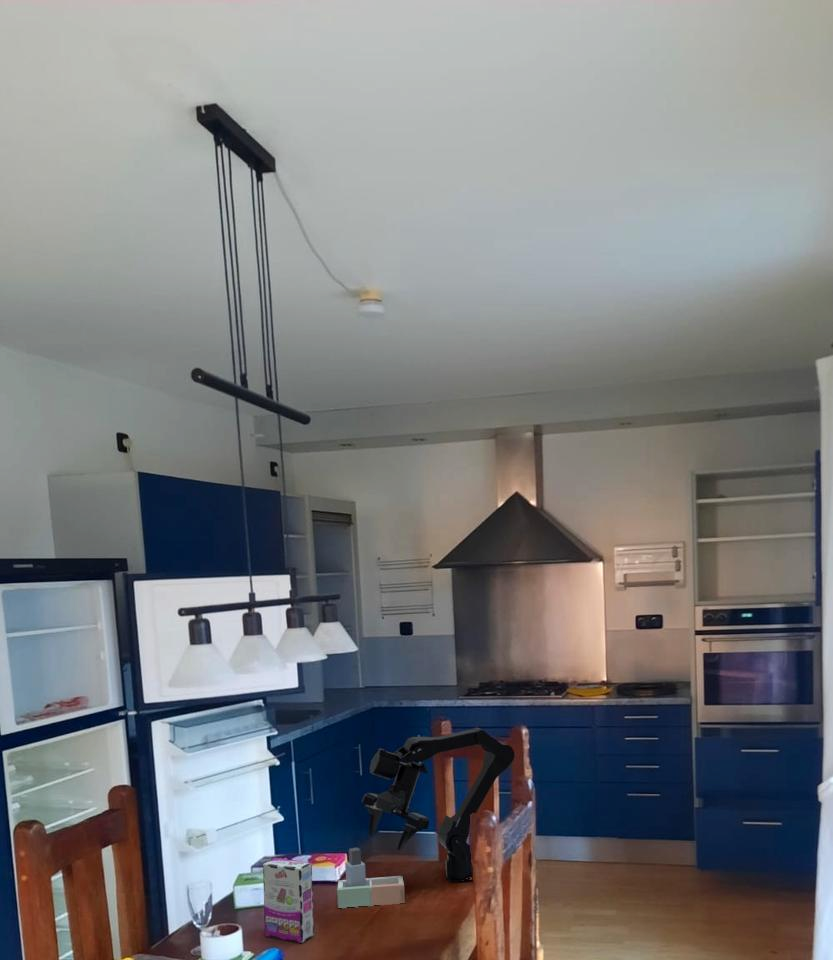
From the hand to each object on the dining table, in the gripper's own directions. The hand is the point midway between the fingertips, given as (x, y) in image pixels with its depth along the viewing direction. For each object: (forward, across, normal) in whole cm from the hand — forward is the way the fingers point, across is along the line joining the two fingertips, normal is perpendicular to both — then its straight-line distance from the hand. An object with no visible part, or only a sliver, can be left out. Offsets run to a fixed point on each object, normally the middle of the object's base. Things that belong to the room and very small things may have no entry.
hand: (384, 843), depth 221 cm
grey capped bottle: (+15, 0, -4) cm, 15 cm away
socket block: (+13, +3, -2) cm, 14 cm away
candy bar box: (+23, -1, -28) cm, 36 cm away
